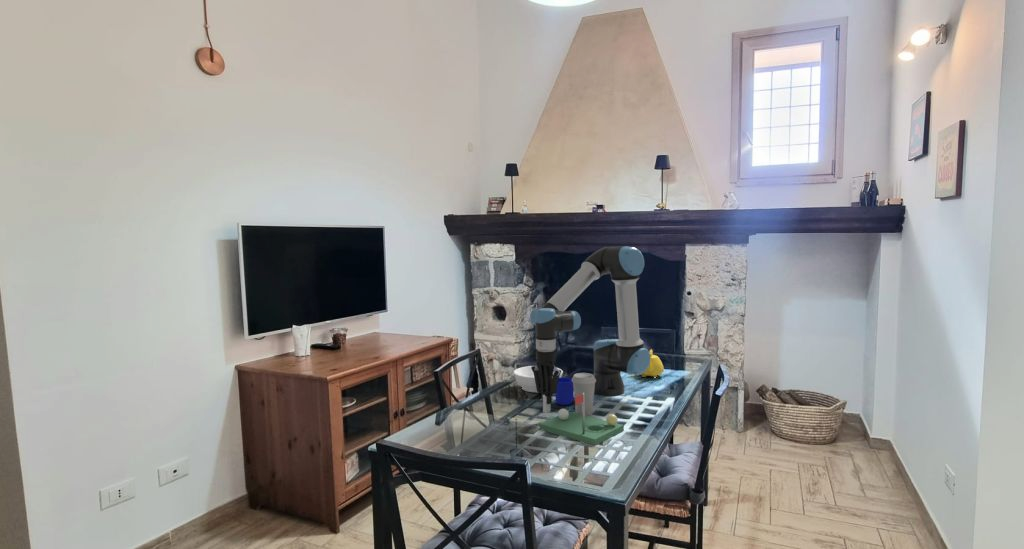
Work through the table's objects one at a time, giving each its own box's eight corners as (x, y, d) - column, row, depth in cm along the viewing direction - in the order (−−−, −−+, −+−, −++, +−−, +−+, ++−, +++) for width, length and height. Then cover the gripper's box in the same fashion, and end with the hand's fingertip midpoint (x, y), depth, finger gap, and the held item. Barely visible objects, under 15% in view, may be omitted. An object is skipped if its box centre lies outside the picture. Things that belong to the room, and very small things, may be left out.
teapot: (634, 370, 281) (634, 348, 280) (664, 372, 276) (664, 349, 275) (630, 380, 262) (630, 356, 261) (662, 382, 257) (662, 358, 256)
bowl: (563, 383, 259) (562, 365, 259) (562, 396, 237) (562, 377, 236) (516, 382, 261) (515, 365, 261) (511, 396, 239) (511, 377, 238)
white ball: (562, 417, 203) (562, 406, 203) (571, 419, 201) (570, 408, 200) (555, 419, 200) (555, 409, 200) (564, 422, 198) (564, 411, 197)
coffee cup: (577, 418, 208) (577, 379, 207) (568, 410, 217) (567, 373, 216) (600, 415, 210) (600, 377, 209) (590, 408, 220) (590, 371, 219)
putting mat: (569, 416, 210) (569, 411, 210) (623, 430, 194) (623, 425, 194) (539, 429, 197) (539, 423, 197) (595, 445, 180) (595, 439, 180)
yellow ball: (610, 422, 196) (610, 411, 196) (619, 425, 193) (619, 414, 193) (604, 425, 193) (603, 414, 193) (613, 428, 191) (613, 416, 190)
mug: (582, 407, 221) (582, 383, 220) (553, 406, 223) (552, 382, 223) (584, 401, 229) (583, 377, 228) (555, 400, 231) (555, 377, 231)
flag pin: (583, 432, 186) (582, 392, 185) (585, 433, 186) (584, 393, 185) (574, 437, 183) (574, 396, 182) (576, 437, 182) (576, 396, 181)
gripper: (526, 349, 206) (527, 410, 207) (553, 353, 197) (554, 417, 198) (538, 346, 211) (539, 405, 213) (565, 350, 202) (566, 412, 204)
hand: (546, 411), depth 206 cm, fingers closed
